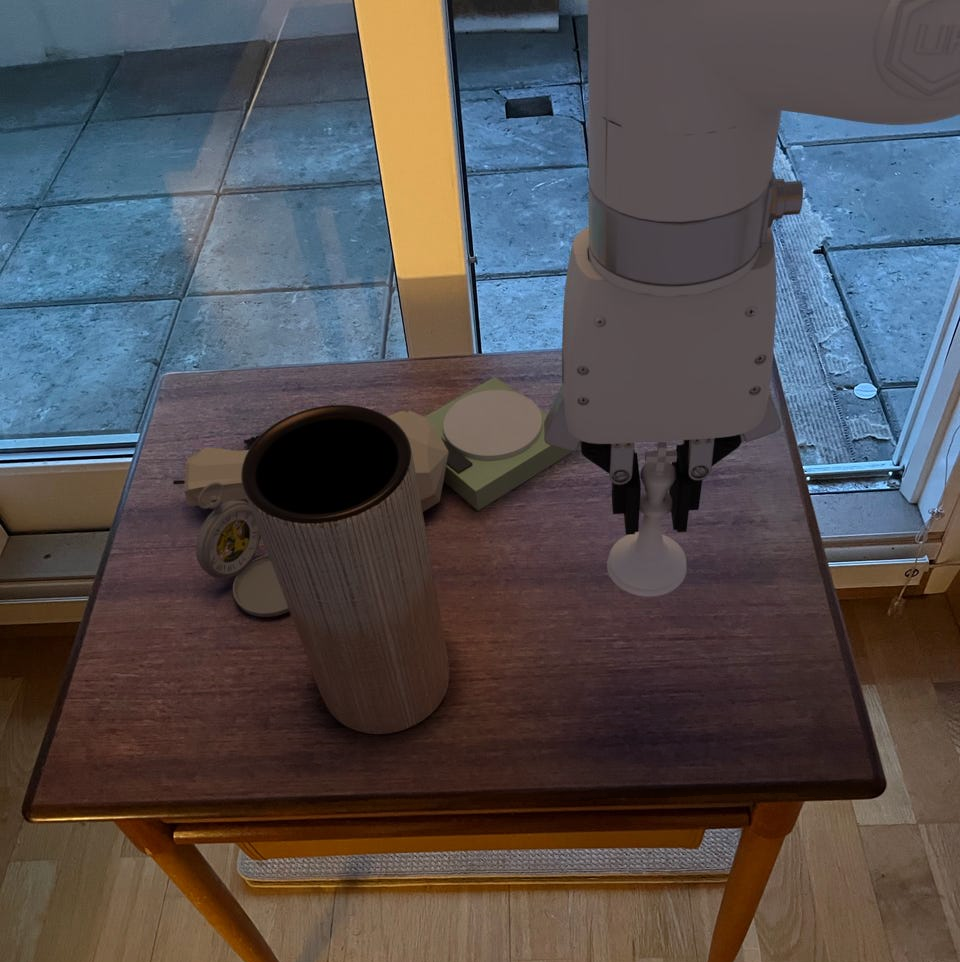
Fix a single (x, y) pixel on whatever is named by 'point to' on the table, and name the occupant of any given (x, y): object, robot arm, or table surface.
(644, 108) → the robot arm
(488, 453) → the scale
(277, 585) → the pocket watch
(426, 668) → the planter
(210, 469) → the faceted club
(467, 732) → the table surface
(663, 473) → the chess piece
